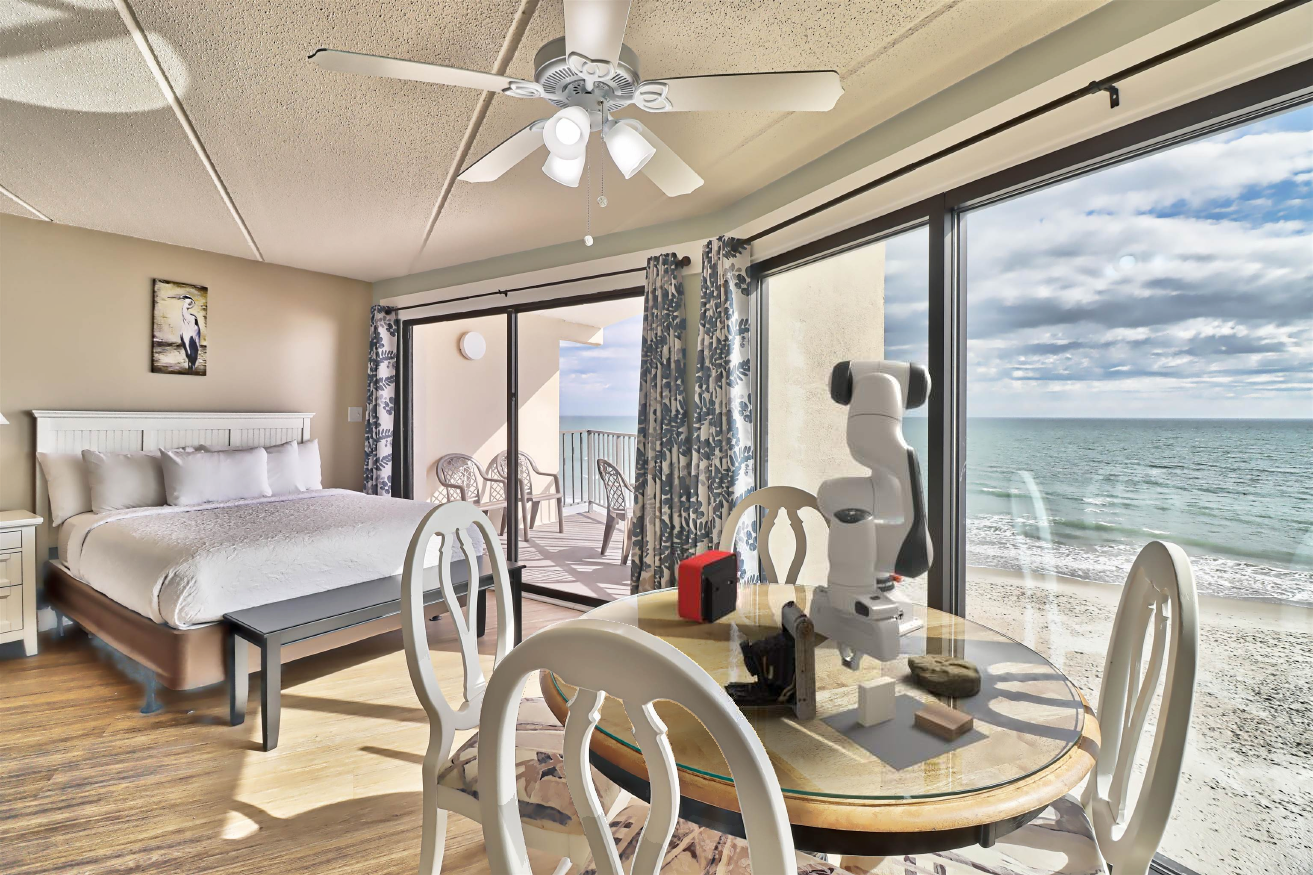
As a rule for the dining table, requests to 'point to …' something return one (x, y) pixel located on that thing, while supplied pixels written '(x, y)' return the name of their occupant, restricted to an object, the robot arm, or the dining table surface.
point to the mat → (899, 735)
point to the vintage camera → (781, 667)
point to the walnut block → (944, 721)
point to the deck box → (876, 701)
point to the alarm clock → (707, 586)
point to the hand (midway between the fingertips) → (850, 668)
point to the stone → (945, 675)
